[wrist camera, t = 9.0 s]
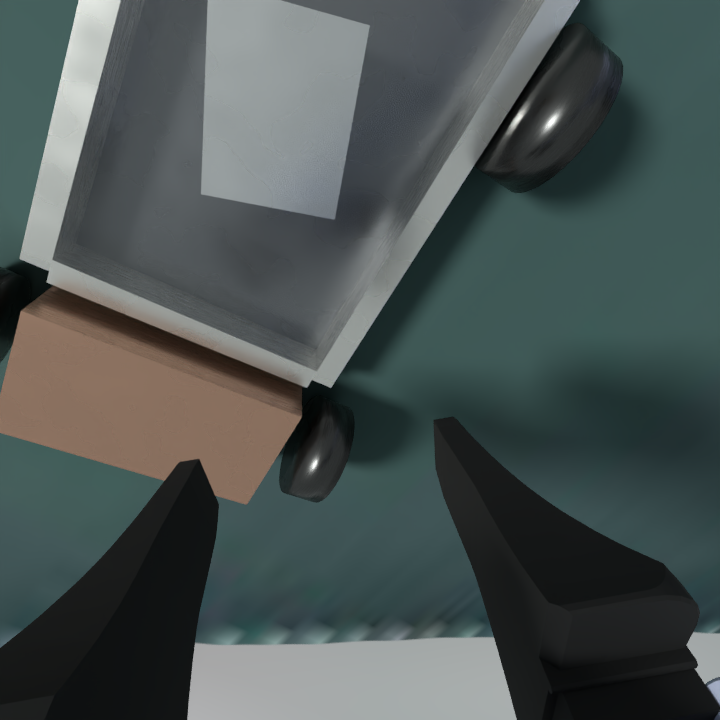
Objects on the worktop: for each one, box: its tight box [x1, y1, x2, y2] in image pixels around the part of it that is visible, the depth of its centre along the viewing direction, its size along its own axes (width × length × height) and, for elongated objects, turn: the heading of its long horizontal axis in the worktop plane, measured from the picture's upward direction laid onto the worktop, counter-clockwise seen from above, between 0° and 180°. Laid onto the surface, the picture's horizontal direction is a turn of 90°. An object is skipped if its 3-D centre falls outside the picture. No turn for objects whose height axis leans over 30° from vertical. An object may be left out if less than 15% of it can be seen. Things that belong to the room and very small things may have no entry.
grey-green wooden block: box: [201, 0, 370, 220], centre depth 14 cm, size 4×5×5 cm
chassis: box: [0, 0, 623, 505], centre depth 16 cm, size 17×24×5 cm
